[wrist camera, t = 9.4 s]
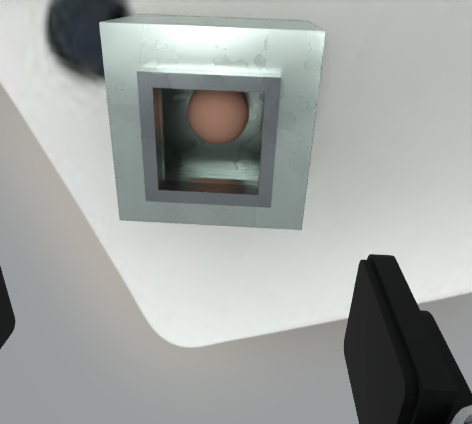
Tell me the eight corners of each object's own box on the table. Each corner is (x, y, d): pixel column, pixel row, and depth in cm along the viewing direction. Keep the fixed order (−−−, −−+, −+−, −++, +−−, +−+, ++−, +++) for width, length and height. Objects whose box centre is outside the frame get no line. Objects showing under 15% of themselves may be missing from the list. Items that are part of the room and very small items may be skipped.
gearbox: (308, 20, 30) (329, 33, 21) (290, 199, 37) (300, 267, 28) (139, 13, 31) (90, 24, 21) (151, 192, 37) (116, 257, 28)
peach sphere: (252, 77, 31) (248, 89, 27) (249, 135, 33) (245, 154, 29) (192, 74, 32) (180, 86, 28) (193, 132, 34) (182, 150, 30)
